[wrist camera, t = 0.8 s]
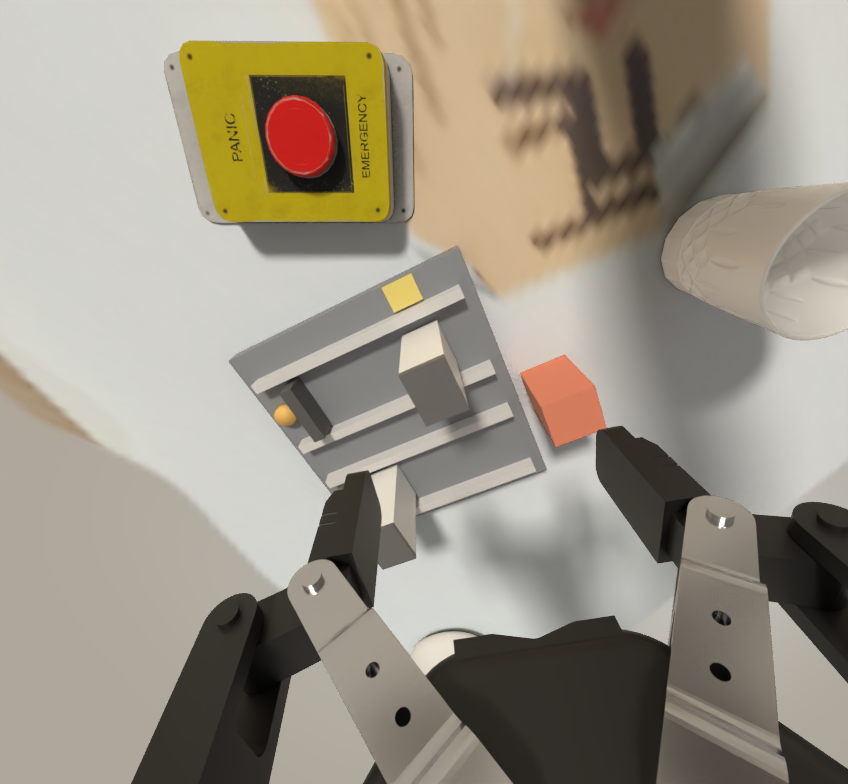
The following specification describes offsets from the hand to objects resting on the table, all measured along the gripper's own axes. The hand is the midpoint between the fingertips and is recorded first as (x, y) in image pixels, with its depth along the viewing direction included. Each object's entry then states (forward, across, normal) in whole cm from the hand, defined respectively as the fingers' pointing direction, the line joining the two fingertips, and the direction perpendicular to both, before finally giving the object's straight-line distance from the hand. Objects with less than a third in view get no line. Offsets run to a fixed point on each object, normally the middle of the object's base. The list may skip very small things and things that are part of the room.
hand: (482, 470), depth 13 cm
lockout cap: (+19, -8, +7) cm, 22 cm away
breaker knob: (+18, +7, +14) cm, 24 cm away
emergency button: (+20, +7, -14) cm, 25 cm away
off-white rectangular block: (+17, +1, +1) cm, 18 cm away
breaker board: (+19, +5, +7) cm, 21 cm away
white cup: (+19, -20, -2) cm, 28 cm away
